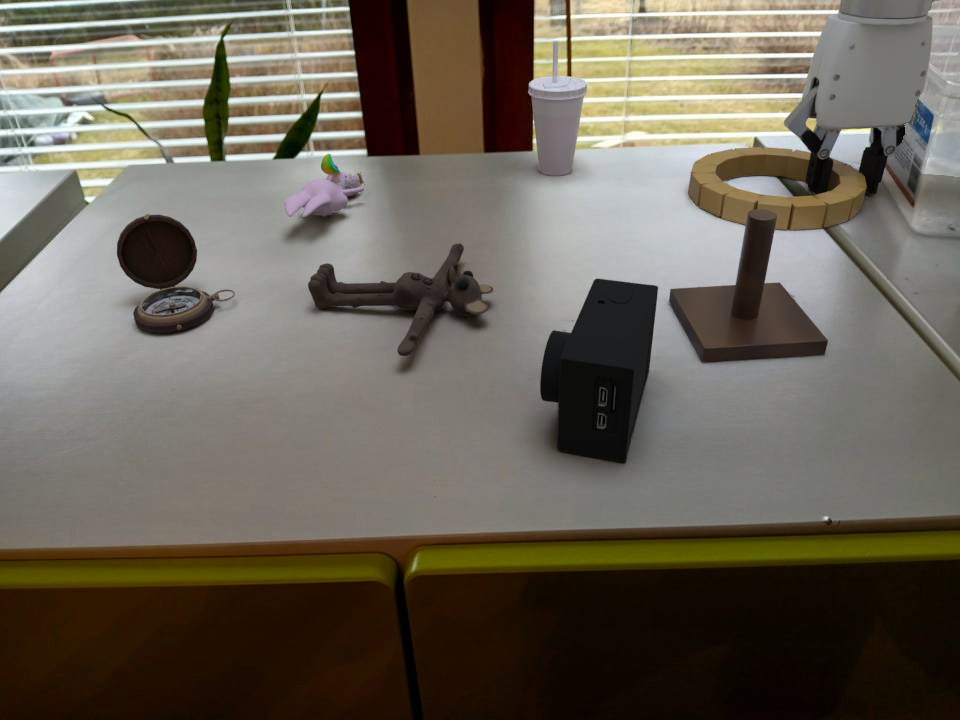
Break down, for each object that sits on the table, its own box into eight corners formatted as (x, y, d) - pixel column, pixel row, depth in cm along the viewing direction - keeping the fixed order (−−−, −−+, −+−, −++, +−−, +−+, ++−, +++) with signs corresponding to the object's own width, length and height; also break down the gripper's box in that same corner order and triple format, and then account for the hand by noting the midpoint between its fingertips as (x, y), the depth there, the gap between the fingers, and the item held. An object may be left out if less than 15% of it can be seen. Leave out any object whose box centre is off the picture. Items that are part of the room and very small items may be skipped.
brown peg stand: (777, 295, 65) (799, 187, 60) (825, 354, 57) (854, 237, 52) (668, 301, 64) (681, 193, 59) (702, 362, 57) (720, 245, 52)
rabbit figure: (325, 197, 89) (267, 232, 75) (321, 143, 86) (260, 168, 73) (379, 200, 88) (329, 235, 74) (376, 145, 85) (324, 171, 72)
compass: (140, 343, 61) (113, 258, 57) (131, 299, 67) (106, 219, 63) (244, 319, 64) (226, 235, 60) (226, 278, 70) (208, 200, 66)
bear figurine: (349, 223, 72) (507, 217, 68) (359, 266, 74) (512, 262, 70) (266, 324, 57) (461, 323, 54) (281, 374, 59) (470, 375, 56)
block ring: (817, 164, 89) (821, 143, 88) (892, 224, 75) (898, 200, 74) (670, 172, 89) (672, 151, 87) (718, 234, 75) (722, 210, 73)
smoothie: (516, 172, 90) (515, 42, 82) (549, 156, 94) (552, 31, 86) (562, 184, 87) (566, 49, 79) (594, 167, 91) (601, 38, 83)
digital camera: (573, 360, 57) (577, 273, 54) (649, 371, 56) (658, 283, 52) (537, 448, 49) (539, 353, 45) (625, 464, 48) (634, 368, 44)
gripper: (951, -10, 76) (901, 174, 86) (778, -2, 75) (748, 182, 85) (1000, 3, 70) (939, 200, 80) (811, 12, 69) (774, 209, 79)
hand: (841, 189), depth 82 cm, fingers open, 4 cm apart
